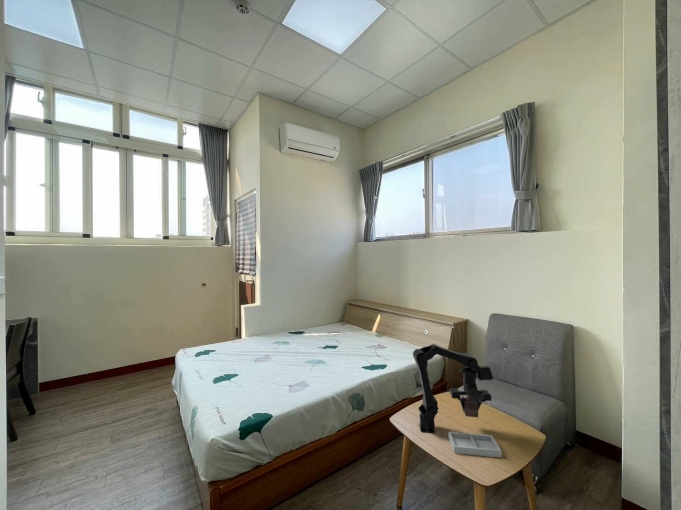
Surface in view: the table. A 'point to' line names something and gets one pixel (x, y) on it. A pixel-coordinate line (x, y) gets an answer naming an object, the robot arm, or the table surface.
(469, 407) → the box
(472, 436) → the tray
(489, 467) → the table surface
